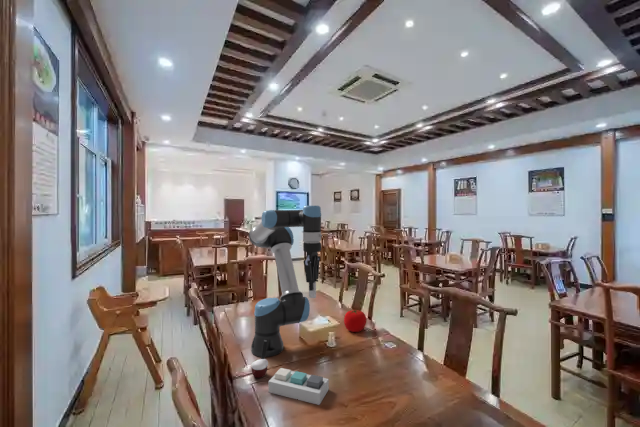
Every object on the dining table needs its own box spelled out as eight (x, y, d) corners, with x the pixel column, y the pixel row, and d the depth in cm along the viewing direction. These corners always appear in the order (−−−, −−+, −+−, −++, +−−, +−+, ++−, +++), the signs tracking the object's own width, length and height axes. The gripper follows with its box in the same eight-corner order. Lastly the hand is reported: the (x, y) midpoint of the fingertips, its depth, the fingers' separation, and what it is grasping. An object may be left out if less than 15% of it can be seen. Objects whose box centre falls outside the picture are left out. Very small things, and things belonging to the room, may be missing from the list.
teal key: (290, 388, 110) (290, 377, 110) (296, 381, 114) (295, 371, 114) (301, 390, 109) (301, 379, 108) (306, 383, 113) (306, 373, 113)
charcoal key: (306, 391, 108) (306, 380, 108) (311, 385, 112) (311, 374, 112) (318, 394, 106) (318, 383, 106) (322, 387, 110) (322, 376, 110)
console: (268, 392, 111) (268, 381, 111) (281, 378, 119) (280, 368, 119) (319, 405, 103) (319, 393, 103) (328, 389, 112) (328, 378, 112)
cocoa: (255, 383, 116) (255, 352, 116) (246, 377, 121) (245, 347, 120) (274, 372, 124) (274, 343, 123) (264, 367, 128) (264, 339, 128)
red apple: (341, 333, 162) (340, 312, 162) (348, 324, 175) (348, 305, 174) (362, 336, 158) (362, 315, 158) (368, 327, 170) (368, 307, 170)
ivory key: (275, 384, 113) (274, 373, 112) (280, 378, 117) (280, 367, 117) (285, 386, 111) (285, 376, 111) (291, 380, 115) (290, 370, 115)
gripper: (314, 244, 120) (314, 302, 121) (325, 240, 132) (326, 294, 133) (297, 243, 123) (297, 300, 124) (310, 240, 135) (310, 292, 136)
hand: (312, 297), depth 128 cm, fingers closed
